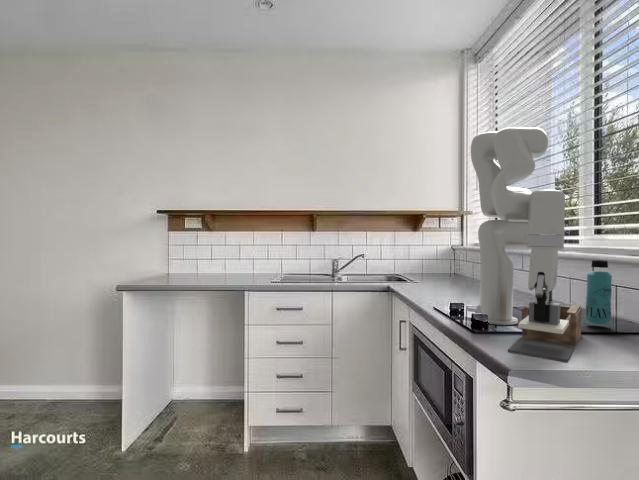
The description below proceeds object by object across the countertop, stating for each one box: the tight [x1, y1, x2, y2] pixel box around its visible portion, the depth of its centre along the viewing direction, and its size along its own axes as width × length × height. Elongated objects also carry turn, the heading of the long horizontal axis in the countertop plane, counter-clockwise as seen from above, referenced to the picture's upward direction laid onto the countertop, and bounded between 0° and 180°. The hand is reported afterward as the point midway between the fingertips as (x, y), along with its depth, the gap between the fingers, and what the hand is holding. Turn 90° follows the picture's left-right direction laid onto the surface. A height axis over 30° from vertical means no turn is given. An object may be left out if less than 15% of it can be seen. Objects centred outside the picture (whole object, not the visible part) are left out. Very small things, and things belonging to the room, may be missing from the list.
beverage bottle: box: [584, 259, 613, 325], centre depth 124 cm, size 6×7×20 cm
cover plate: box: [517, 300, 569, 334], centre depth 99 cm, size 9×12×6 cm
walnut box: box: [521, 303, 583, 348], centre depth 111 cm, size 12×14×8 cm
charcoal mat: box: [507, 337, 576, 363], centre depth 98 cm, size 12×14×1 cm
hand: (543, 318), depth 99 cm, fingers closed on cover plate, 4 cm apart
